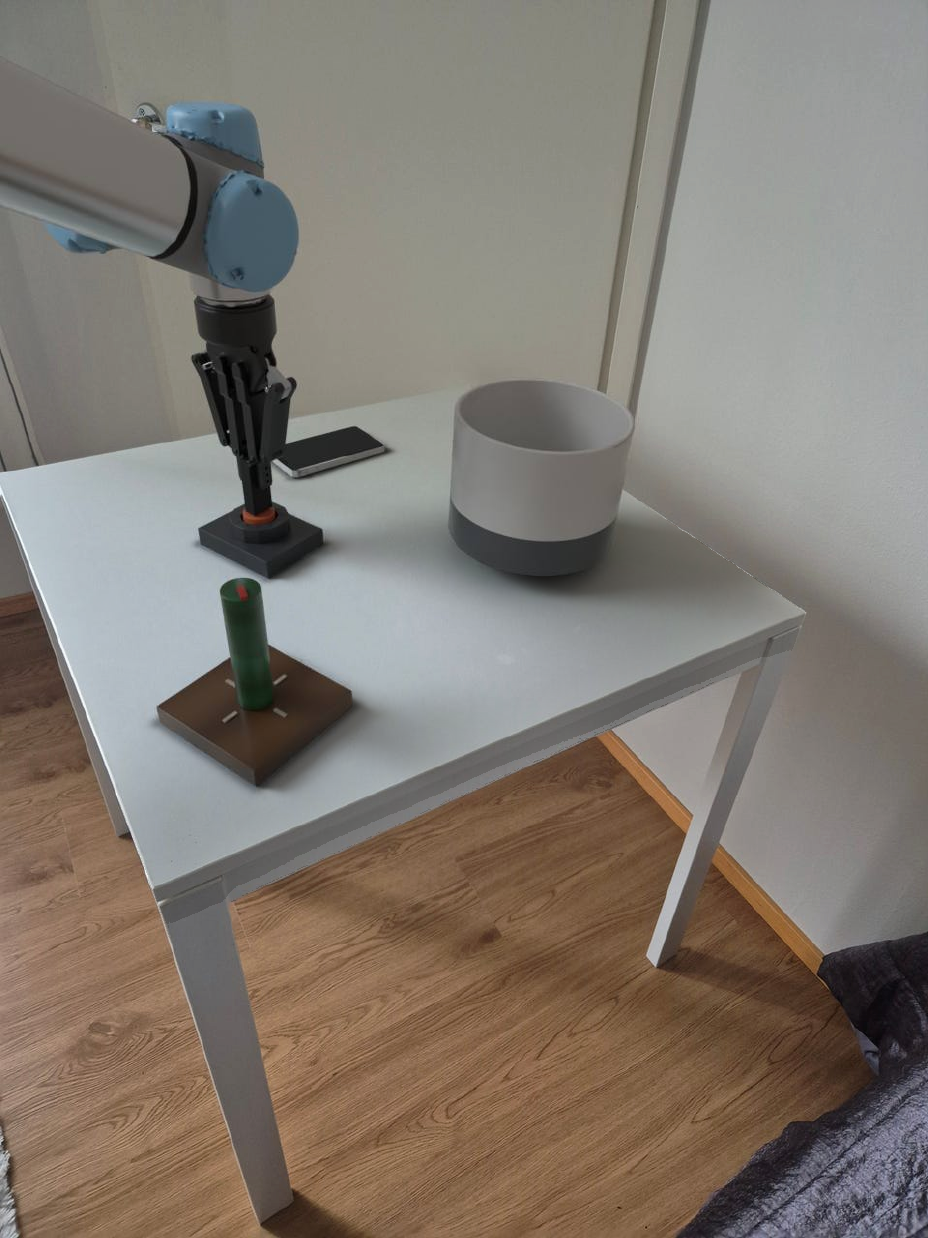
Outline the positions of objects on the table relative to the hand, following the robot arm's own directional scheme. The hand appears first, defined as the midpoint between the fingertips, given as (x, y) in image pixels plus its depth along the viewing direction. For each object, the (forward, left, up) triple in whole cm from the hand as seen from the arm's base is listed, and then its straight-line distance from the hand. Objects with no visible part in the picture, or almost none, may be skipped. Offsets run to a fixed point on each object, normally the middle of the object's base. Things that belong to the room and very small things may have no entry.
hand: (259, 508), depth 91 cm
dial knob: (+20, -20, -3) cm, 28 cm away
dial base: (+20, -20, -5) cm, 29 cm away
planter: (+25, +19, -5) cm, 32 cm away
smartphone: (-10, +22, -5) cm, 25 cm away
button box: (0, 0, -5) cm, 5 cm away
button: (0, 0, -2) cm, 2 cm away
